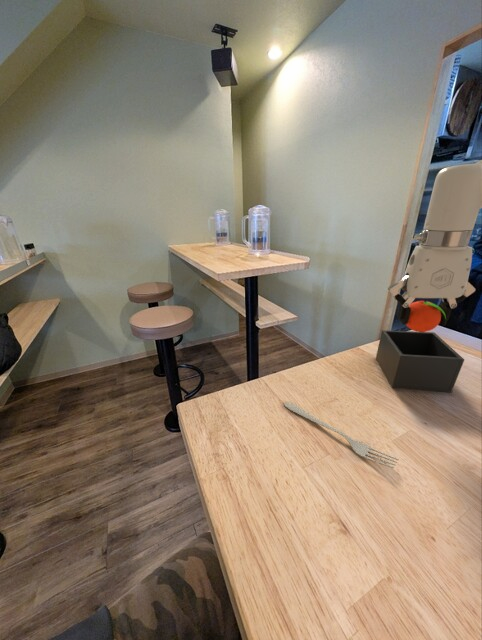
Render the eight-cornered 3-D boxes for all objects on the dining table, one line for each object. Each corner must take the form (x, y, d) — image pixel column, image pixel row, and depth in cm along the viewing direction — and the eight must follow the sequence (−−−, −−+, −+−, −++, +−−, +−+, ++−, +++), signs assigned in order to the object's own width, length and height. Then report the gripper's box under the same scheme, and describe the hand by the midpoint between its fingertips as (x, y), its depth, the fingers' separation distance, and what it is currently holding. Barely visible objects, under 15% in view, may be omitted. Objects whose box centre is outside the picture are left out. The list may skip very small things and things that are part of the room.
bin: (424, 361, 74) (434, 332, 70) (451, 392, 62) (464, 359, 58) (375, 358, 77) (381, 330, 72) (391, 388, 64) (400, 355, 60)
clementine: (448, 333, 55) (458, 303, 52) (431, 342, 52) (441, 311, 49) (410, 321, 62) (417, 293, 59) (393, 328, 58) (400, 300, 56)
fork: (288, 399, 62) (288, 394, 61) (397, 464, 46) (399, 457, 45) (280, 406, 60) (280, 401, 59) (391, 476, 44) (393, 470, 43)
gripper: (403, 243, 47) (384, 328, 54) (512, 240, 44) (476, 331, 51) (388, 238, 53) (373, 314, 61) (482, 235, 50) (454, 316, 58)
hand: (421, 321), depth 56 cm, fingers closed on clementine, 7 cm apart
